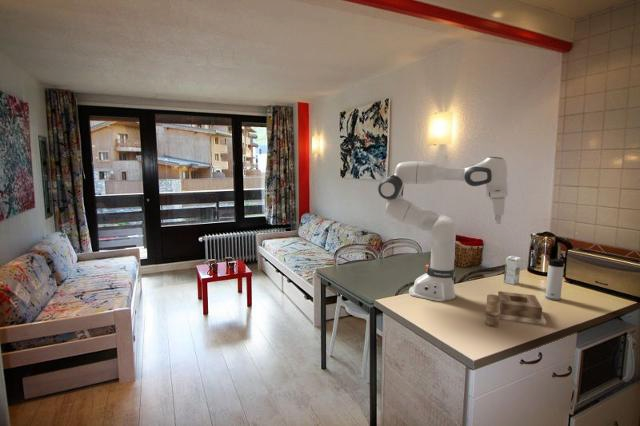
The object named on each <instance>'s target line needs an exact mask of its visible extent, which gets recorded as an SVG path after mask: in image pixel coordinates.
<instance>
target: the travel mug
mask: <svg viewBox="0 0 640 426" xmlns="http://www.w3.org/2000/svg"><path fill="white" fill-rule="evenodd" d="M564 266H565V260H564V259H560V258H552V259H550V258H549V260H548V267H547V277H546V286H545V298H546V299H547V300H550V301H554V302H555V301H557V302H558V301H560V300H561V298H562V297H561V296H562V286H563V278H564V277H563V276H564V270H565V269H564V268H565V267H564Z"/></svg>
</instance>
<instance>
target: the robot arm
mask: <svg viewBox="0 0 640 426" xmlns="http://www.w3.org/2000/svg"><path fill="white" fill-rule="evenodd" d="M507 165H508V164H507V162H506V160H505V159H504V158H503V157H499V156H488V157H486V158H485V159H483V160H482V161H481V162H479V163H476V164H470V165H469V166H466V167H450V166H449V167H447V166H443V165H438V164H436V163H431V162H426V161H419V160H418V161H417V160H416V161H413V160H412V161H411V160H410V161H403V162H402V161H401V162H399V163H397V165H396V167H395V169H394V173H393V174H391V175H389V176H387V177H385V178H383V179H382V180H381V181H380V182H379V184H378V186H377V190H378V194H379V196H380V197H381V198H383V199H384V200H386V204H385V212H386V214H388V215H389V216H390V217H392V218H393V219H395V220H397V221H398V222H401V223H402V224H404V225H406V226H409V227H410V228H414V229H415V230H419V231H422V232H427V233H429V234H431V235H430V240H431V241H430V242H431V243H430V246H431V247H430V249H431V250H430V265H429V264H426V265H425V273H424V274H422V275H420V276H419V277H418V276H417V278H416V279H415V281H414V284H413V285H412V286H410V288H409V290H408V293H409V295H410V296H412V297H416V298H421V299H424V300H425V299H426V300H431V301H436V302H445V301H450V300H454V299H455V298H456V292H455V284H454V282H455V274H456V271H455V253H456V252H455V251H456V238H457V237H456V236H457V224H456V222H455V219H453V218H451V217H450V216H447V215H445V214H442V213H440V212H436V211H433V210H431V209H427V208H425V207H423V206H420V205H418V204H416V203H413V202H412V201H409V200H407V199H405V198H404V197H403V195H404V188H405V187H404V186H406V185H407V184H409V185H410V184H411V185H412V184H413V185H414V184H415V185H427V184H429V185H430V184H434V183H437V182H440V181H462V182H465V183H466V184H467V185H469V186H471V187H475V188H476V187H480V186H482V185H485V189H486V197H488V198H489V201H491V205H492V211H493V214H494V216H495V217H494V219H495V221H496V222H495V223H496V224H497V225H501V224H502V216H503V215H504V213H505V204H506V203H505V202H506V198H507V196H509V195H508V194H509V190H508V189H509V187H508V186H509V185H508V181H507V178H508V167H507Z"/></svg>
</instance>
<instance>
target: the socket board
mask: <svg viewBox="0 0 640 426" xmlns="http://www.w3.org/2000/svg"><path fill="white" fill-rule="evenodd" d="M497 296H500V297H501V299H500V311H499V314H500V315H499V319H500V320H506V321H514V322H520V323H521V322H522V323H529V324H537V325H543V326H546V325H547V320H546V319H545V317H544V315H543V307H542V305H541V303H540V302H539V299H538V298H537V296H536V295H534V294H526V293H519V292H518V293H517V292H508V291H502V290H500V291H498V292H497Z"/></svg>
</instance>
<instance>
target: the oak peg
mask: <svg viewBox="0 0 640 426" xmlns="http://www.w3.org/2000/svg"><path fill="white" fill-rule="evenodd" d="M500 299H501V297H500V296H498V294H497V295H496V294H491V293H490V294H487V295H486V306H485V318H484V319H485V320H484V324H485V325H486V326H488V327H491V328H498V327H499V323H500V321H499V315H500V314H499V311H500Z"/></svg>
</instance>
